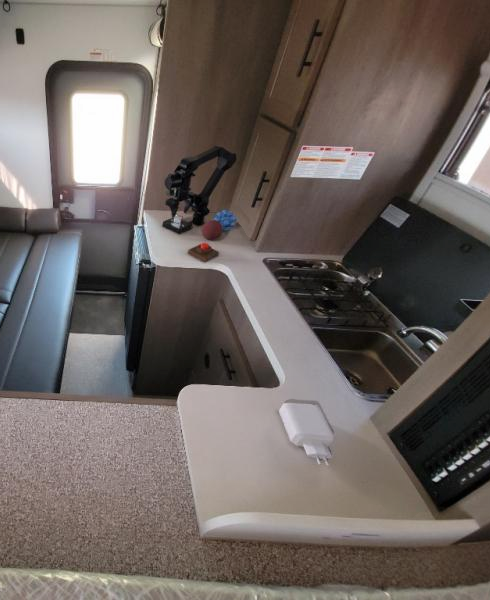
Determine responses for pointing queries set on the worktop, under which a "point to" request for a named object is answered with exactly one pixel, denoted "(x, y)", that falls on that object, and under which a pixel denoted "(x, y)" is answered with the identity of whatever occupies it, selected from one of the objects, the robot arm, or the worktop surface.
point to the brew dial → (178, 219)
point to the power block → (203, 253)
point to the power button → (204, 246)
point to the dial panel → (177, 226)
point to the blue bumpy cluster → (226, 219)
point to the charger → (308, 429)
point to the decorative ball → (212, 230)
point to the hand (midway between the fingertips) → (179, 215)
